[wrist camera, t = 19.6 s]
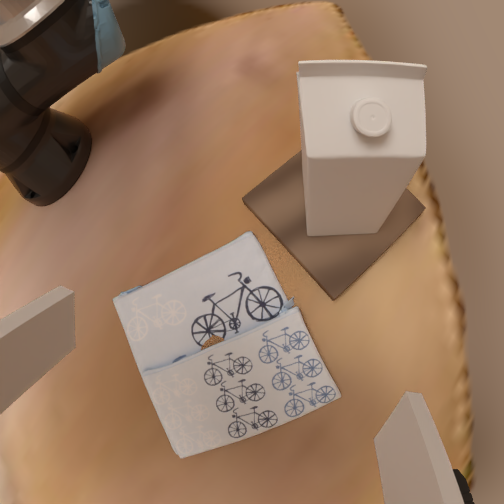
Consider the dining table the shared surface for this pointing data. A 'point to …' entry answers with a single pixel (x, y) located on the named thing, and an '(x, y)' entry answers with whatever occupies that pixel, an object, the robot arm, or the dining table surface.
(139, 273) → the dining table surface
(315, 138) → the milk carton
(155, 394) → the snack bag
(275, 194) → the walnut board
